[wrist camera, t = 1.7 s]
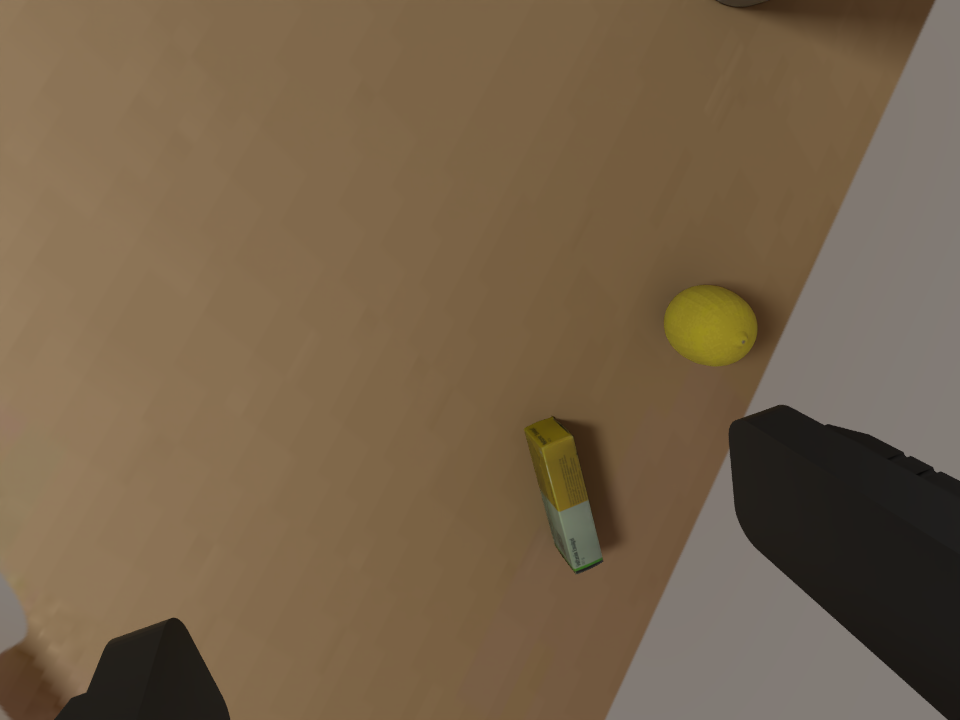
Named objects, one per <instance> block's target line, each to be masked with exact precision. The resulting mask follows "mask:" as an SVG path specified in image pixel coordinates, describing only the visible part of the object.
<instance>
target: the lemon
mask: <svg viewBox="0 0 960 720" xmlns="http://www.w3.org/2000/svg"><path fill="white" fill-rule="evenodd" d="M664 329H665V334H666V336H667V338H668V340H669V342H670V344H671V345H672V347H673V348H674V349H675V350H676V351H677V352H678V353H679V354H681V355H682V356H683V357H685V358H687V359H689V360H691V361H693V362H695V363H698V364H703V365H708V366H725V365H729V364H732V363H735V362H737V361H738V360H740V359H742V358H743V357H744V356H745V355H746V354H747V353H748V352H749V351H750V349H751V348H752V347H753V345H754V342H755V340H756V336H757V331H758V329H757V321H756V317H755V314H754V312H753V311H752V309H751V307H750V306H749V305H748V304H747V303H746V302H745V301H744V300H743V299H742V298H741V297H740V296H738V295H737V294H736V293H734V292H732V291H730V290H727V289H725V288H723V287H720V286H714V285H699V286H693V287H690V288H688V289H686V290H684V291H682V292H680V293H679V294H678V295H677V296H675V297H674V299H673V300H672V301H671V302H670V304H669V306H668V308H667V309H666V313H665V316H664Z"/></svg>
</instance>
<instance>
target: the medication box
mask: <svg viewBox="0 0 960 720" xmlns="http://www.w3.org/2000/svg"><path fill="white" fill-rule="evenodd" d="M524 431H525V435H526V438H527V442H528V446H529V450H530V454H531V458H532V461H533V465H534V469H535V473H536V476H537V480H538V484H539V488H540V491H541V495H542V499H543V502H544V506H545V510H546V514H547V517H548V521H549V525H550V529H551V532H552V536H553V539H554V543H555V546H556V548H557V549H558V550H559V552H560V554H561V555H562V557H563V558H564V559H565V561H566V562H567V563H568V565H569V566H570V567H571V569H572V570H573V571H574V573H575V574H579V573H581V572H584V571H586V570H589V569H591V568H593V567H595V566H597V565H598V564H600V563H602V562H603V558H602V554H601V550H600V545H599V541H598V537H597V533H596V529H595V524H594V520H593V516H592V512H591V508H590V504H589V500H588V496H587V491H586V487H585V483H584V479H583V475H582V471H581V467H580V463H579V458H578V454H577V450H576V446H575V442H574V437H573V436H572V434H571V433H570V432H569V431H568V430H567V429H566V428H565V427H564V426H563V425H562V424H561V423H559V422H558V421H557V420H555V419H554V417H553V416H552V417H551V418H548V419H544V420H541V421H539V422H536V423H534V424H532V425H530V426H528V427H526V428H524Z"/></svg>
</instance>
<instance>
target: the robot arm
mask: <svg viewBox="0 0 960 720" xmlns="http://www.w3.org/2000/svg"><path fill="white" fill-rule="evenodd" d="M717 1H719V2H721V3H723V4H726V5H730V6H734V7H747V6H751V5H755V4H758V3H762V2H765V1H768V0H717ZM729 447H730V458H731V470H732V481H733V492H734V504H735V511H736V515H737V518H738V521H739V523H740V525H741V527H742V529H743V531H744V533H745V535H746V536H747V538H748V539H749V541H750V542H751V543H752V544H753V546H754V547H755V548H756V549H757V550H759V551H760V552H761V553H762V554H763V555H764V556H765V557H766V558H767V559H769V560H770V561H771V562H772V563H773V564H774V565H775V566H776V567H777V568H779V569H780V570H781V571H782V572H783V573H784V574H785V575H787V576H788V577H789V578H790V579H791V580H792V581H793V582H794V583H795V584H797V585H798V586H799V587H800V588H801V589H802V590H803V591H804V592H805V593H807V594H808V595H809V596H810V597H811V598H812V599H813V600H815V601H816V602H817V603H818V604H819V605H820V606H821V607H822V608H823V609H825V610H826V611H827V612H828V613H829V614H830V615H831V616H832V617H834V618H835V619H836V620H837V621H838V622H839V623H840V624H841V625H842V626H844V627H845V628H846V629H847V630H848V631H849V632H850V633H851V634H852V635H854V636H855V637H856V638H857V639H858V640H859V641H860V642H862V643H863V644H864V645H865V646H866V647H867V648H868V649H869V650H870V651H871V652H873V653H874V654H875V655H876V656H877V657H878V658H879V659H880V660H882V661H883V662H884V663H885V664H886V665H887V666H888V667H889V668H891V669H892V670H893V671H894V672H895V673H896V674H897V675H898V676H899V677H901V678H902V679H903V680H904V681H905V682H906V683H907V684H909V685H910V686H911V687H912V688H913V689H914V690H915V691H916V692H917V693H918V694H920V695H921V696H922V697H923V698H924V699H925V700H926V701H928V702H929V703H930V704H931V705H932V706H933V707H934V708H935V709H936V710H938V711H939V712H940V713H941V714H942V715H943V716H944V717H945V718H947V719H948V720H960V481H959V480H957V479H955V478H953V477H951V476H949V475H947V474H945V473H943V472H938V473H936V472H935V471H934V469H933V467H931V466H929V465H927V464H926V463H924V462H921V461H920V460H918V459H916V458H914V457H912V456H910V457H906V456H905V455H904V453H903V452H902V451H900V450H898V449H896V448H894V447H892V446H890V445H888V444H886V443H884V442H883V441H880V440H879V439H877V438H875V437H873V436H870V435H869V434H864V433H861V432H857V431H852V430H849V429H845V428H841V427H837V426H833V425H829V424H827V425H823V424H821V423H819V422H817V421H815V420H814V419H812V418H810V417H808V416H806V415H804V414H802V413H800V412H799V411H797V410H795V409H793V408H791V407H789V406H786V405H778V406H775V407H772V408H769V409H766V410H764V411H761V412H758V413H756V414H752V415H749V416H747V417H744V418H741V419H738V420H735V421H734V422H732V424H731V425H730V428H729ZM54 720H230V716H229V712H228V709H227V706H226V703H225V701H224V699H223V696H222V695H221V693H220V691H219V689H218V687H217V685H216V683H215V681H214V679H213V678H212V676H211V674H210V672H209V670H208V668H207V666H206V664H205V662H204V660H203V659H202V657H201V655H200V653H199V651H198V649H197V647H196V645H195V643H194V641H193V640H192V638H191V636H190V634H189V632H188V630H187V629H186V627H185V625H184V624H183V623H182V622H181V621H180V620H179V619H177V618H171V619H168V620H165V621H162V622H159V623H157V624H154V625H151V626H148V627H145V628H142V629H140V630H137V631H134V632H131V633H128V634H125V635H123V636H120V637H117V638H114V639H112V640H111V641H109V642H108V644H107V645H106V647H105V649H104V651H103V653H102V656H101V658H100V660H99V663H98V665H97V668H96V670H95V673H94V675H93V678H92V680H91V683H90V685H89V688H88V690H87V692H86V693H84V694H81V695H79V696H76V697H73V698H71V699H70V700H69V702H68V703H67V704H66V705H65V707H64V708H63V709H62V711H61V712H60V713H59V714H58V716H57V717H56V718H55V719H54Z"/></svg>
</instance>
